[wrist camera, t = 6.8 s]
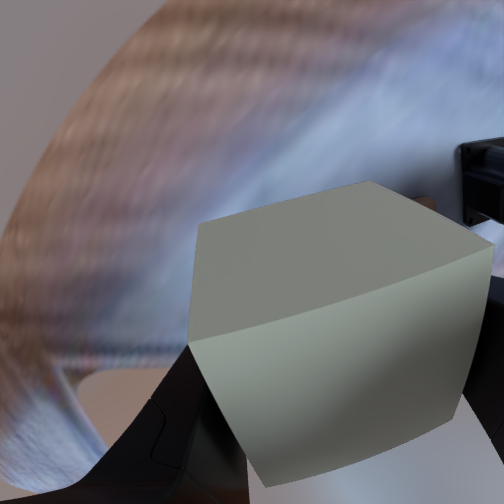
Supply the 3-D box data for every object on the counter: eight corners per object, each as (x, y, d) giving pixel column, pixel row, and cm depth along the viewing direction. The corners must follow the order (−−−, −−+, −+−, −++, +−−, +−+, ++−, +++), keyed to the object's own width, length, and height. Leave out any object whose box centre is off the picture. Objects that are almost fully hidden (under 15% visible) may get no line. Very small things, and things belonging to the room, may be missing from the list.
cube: (369, 180, 9) (494, 244, 4) (379, 317, 11) (452, 419, 6) (199, 224, 9) (187, 342, 4) (244, 358, 11) (265, 487, 6)
